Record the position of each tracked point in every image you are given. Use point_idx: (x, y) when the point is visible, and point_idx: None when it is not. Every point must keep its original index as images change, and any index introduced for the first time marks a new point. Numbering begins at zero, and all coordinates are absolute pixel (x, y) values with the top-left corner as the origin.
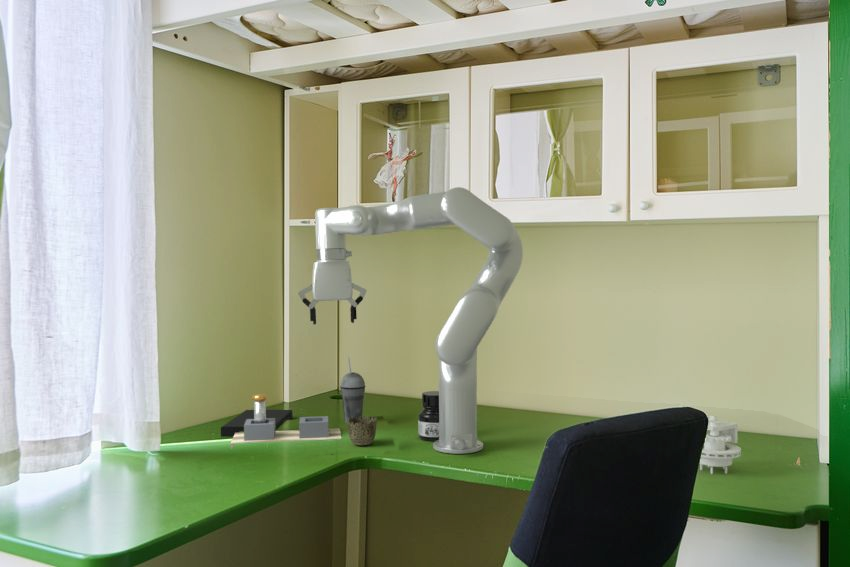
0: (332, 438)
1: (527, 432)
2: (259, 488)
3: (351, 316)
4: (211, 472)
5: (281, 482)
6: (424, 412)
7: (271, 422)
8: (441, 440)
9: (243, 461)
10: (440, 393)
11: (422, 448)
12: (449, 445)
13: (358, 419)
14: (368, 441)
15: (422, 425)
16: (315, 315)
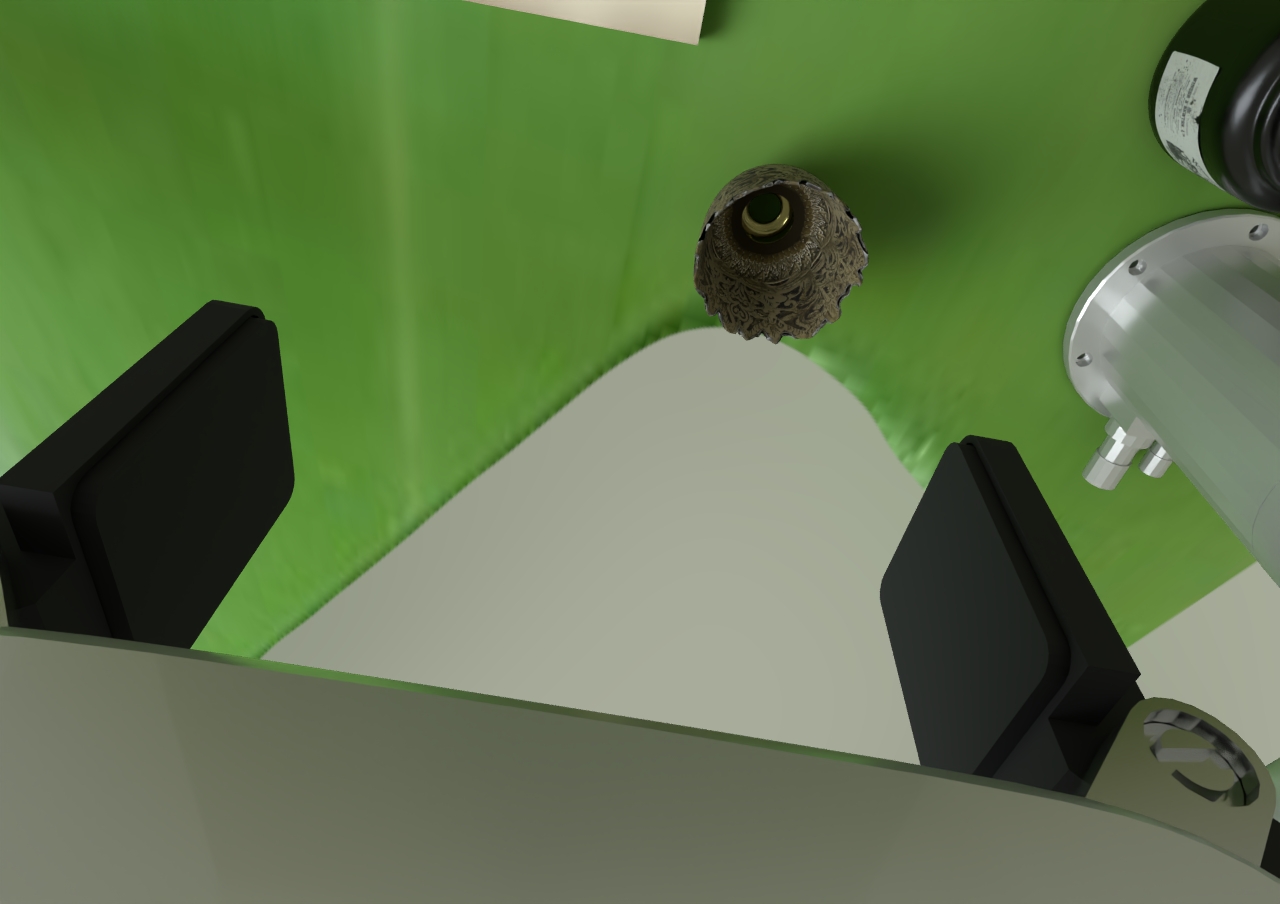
0: (649, 18)
1: None
2: (340, 531)
3: (904, 667)
4: (126, 326)
5: (402, 503)
6: (1255, 142)
7: None
8: (1110, 353)
9: (213, 208)
10: (1238, 486)
11: (1040, 267)
12: (1111, 386)
13: (783, 182)
14: (782, 280)
15: (1185, 136)
16: (218, 595)
